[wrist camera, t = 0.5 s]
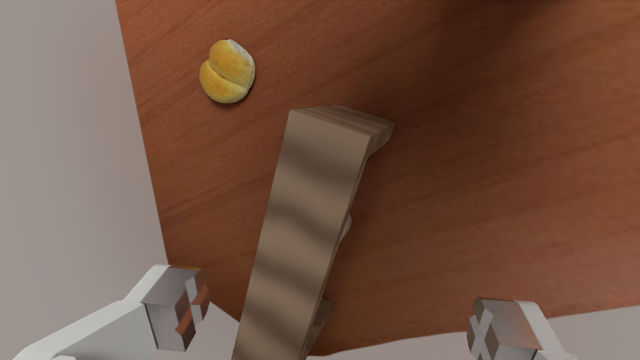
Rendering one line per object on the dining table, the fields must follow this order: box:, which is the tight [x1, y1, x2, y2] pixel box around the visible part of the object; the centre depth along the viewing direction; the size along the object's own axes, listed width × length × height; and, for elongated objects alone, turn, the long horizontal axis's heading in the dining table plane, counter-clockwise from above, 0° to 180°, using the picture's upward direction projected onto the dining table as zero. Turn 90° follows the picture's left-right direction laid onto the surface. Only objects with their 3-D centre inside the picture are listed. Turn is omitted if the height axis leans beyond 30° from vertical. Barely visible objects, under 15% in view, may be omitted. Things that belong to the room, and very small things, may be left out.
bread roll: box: [199, 39, 255, 103], centre depth 50 cm, size 8×9×4 cm
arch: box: [231, 104, 396, 360], centre depth 44 cm, size 33×8×16 cm, turn 164°
